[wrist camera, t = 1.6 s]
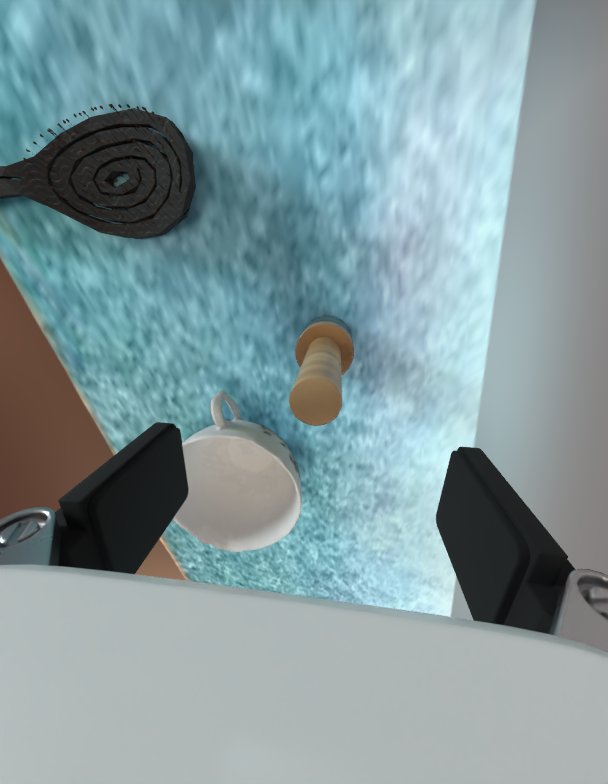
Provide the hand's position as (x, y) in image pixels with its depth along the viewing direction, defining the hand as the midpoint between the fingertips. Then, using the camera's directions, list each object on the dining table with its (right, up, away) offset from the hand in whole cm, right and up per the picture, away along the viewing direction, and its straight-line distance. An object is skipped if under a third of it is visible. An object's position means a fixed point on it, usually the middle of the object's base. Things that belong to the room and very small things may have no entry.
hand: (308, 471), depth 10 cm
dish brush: (+2, +7, +17) cm, 19 cm away
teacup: (-6, -2, +22) cm, 23 cm away
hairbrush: (-20, +20, +15) cm, 32 cm away
